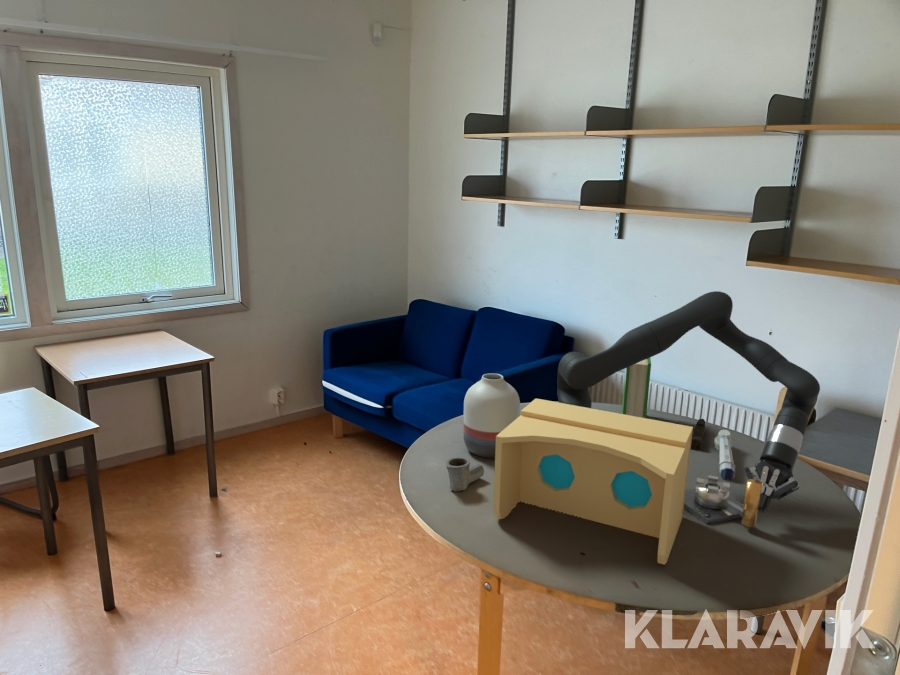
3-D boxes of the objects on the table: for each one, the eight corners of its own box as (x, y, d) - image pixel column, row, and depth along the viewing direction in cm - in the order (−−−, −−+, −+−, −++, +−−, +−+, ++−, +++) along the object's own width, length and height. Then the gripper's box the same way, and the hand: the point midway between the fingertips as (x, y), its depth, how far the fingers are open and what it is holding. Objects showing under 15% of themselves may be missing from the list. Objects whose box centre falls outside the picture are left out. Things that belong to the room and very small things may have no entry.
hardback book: (644, 433, 212) (651, 363, 206) (621, 431, 214) (627, 361, 208) (643, 414, 229) (649, 349, 223) (621, 412, 230) (627, 347, 224)
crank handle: (687, 496, 168) (692, 457, 165) (711, 491, 171) (715, 452, 168) (741, 530, 152) (747, 488, 150) (766, 523, 155) (772, 482, 153)
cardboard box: (682, 517, 161) (692, 426, 155) (663, 572, 139) (674, 469, 133) (531, 480, 179) (535, 398, 173) (492, 524, 157) (496, 431, 151)
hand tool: (700, 452, 199) (702, 438, 198) (687, 449, 201) (689, 435, 200) (710, 431, 215) (711, 418, 214) (697, 429, 217) (699, 416, 216)
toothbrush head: (718, 466, 181) (716, 423, 202) (715, 486, 183) (713, 442, 205) (738, 469, 179) (734, 425, 201) (735, 489, 181) (731, 444, 203)
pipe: (487, 481, 178) (488, 454, 176) (455, 497, 169) (456, 469, 167) (471, 474, 182) (471, 448, 180) (439, 489, 173) (439, 462, 171)
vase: (473, 435, 209) (475, 365, 203) (524, 443, 203) (527, 372, 197) (454, 456, 194) (456, 381, 188) (509, 465, 188) (512, 388, 182)
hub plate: (706, 524, 158) (707, 518, 157) (670, 497, 171) (670, 492, 170) (752, 515, 162) (753, 509, 162) (713, 489, 175) (714, 484, 175)
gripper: (813, 461, 158) (791, 525, 153) (757, 446, 167) (734, 507, 162) (809, 448, 153) (786, 514, 148) (751, 433, 162) (728, 495, 157)
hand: (759, 510), depth 155 cm, fingers closed
